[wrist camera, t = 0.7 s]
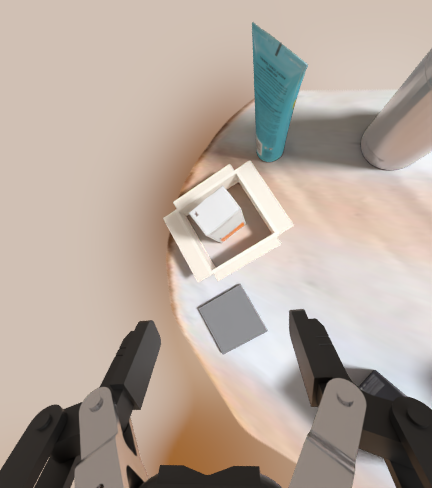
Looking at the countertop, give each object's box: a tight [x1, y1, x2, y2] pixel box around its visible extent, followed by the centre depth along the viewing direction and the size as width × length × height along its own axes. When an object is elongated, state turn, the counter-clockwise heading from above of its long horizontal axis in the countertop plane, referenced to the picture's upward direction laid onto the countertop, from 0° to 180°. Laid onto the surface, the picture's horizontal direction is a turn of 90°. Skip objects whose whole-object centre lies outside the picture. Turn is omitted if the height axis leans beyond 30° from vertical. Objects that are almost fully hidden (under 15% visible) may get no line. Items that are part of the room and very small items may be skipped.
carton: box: [163, 160, 294, 283], centre depth 37 cm, size 18×16×4 cm
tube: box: [252, 23, 308, 162], centre depth 29 cm, size 7×5×19 cm, turn 46°
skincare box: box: [189, 186, 246, 243], centre depth 33 cm, size 6×4×12 cm
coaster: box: [199, 284, 268, 354], centre depth 37 cm, size 9×9×1 cm
